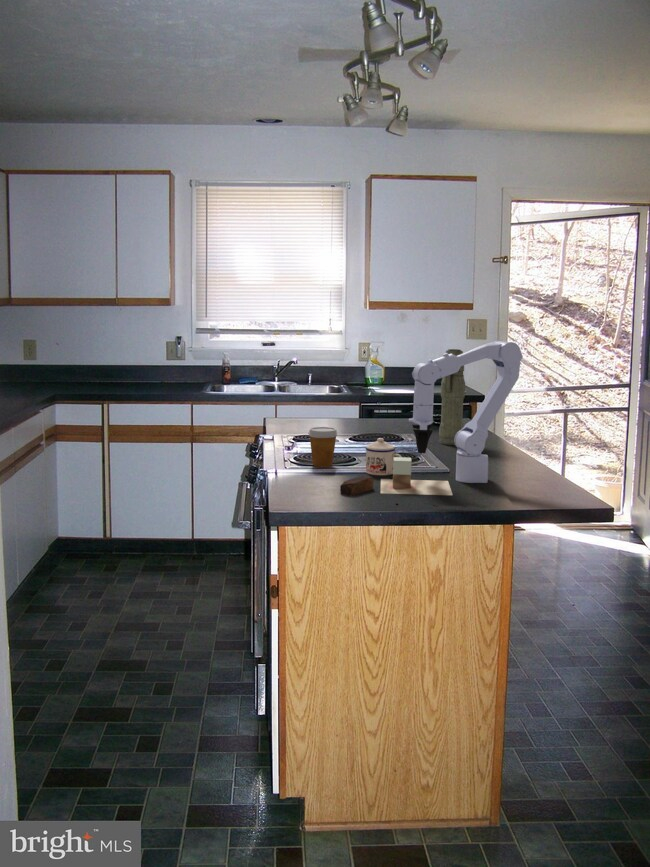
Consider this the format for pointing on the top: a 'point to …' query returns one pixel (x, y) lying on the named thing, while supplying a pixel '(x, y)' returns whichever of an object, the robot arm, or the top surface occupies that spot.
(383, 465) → the teacup with lid
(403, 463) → the sage block
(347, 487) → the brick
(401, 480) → the walnut block
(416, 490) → the build board
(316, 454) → the disposable coffee cup
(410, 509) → the top surface
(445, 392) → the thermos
